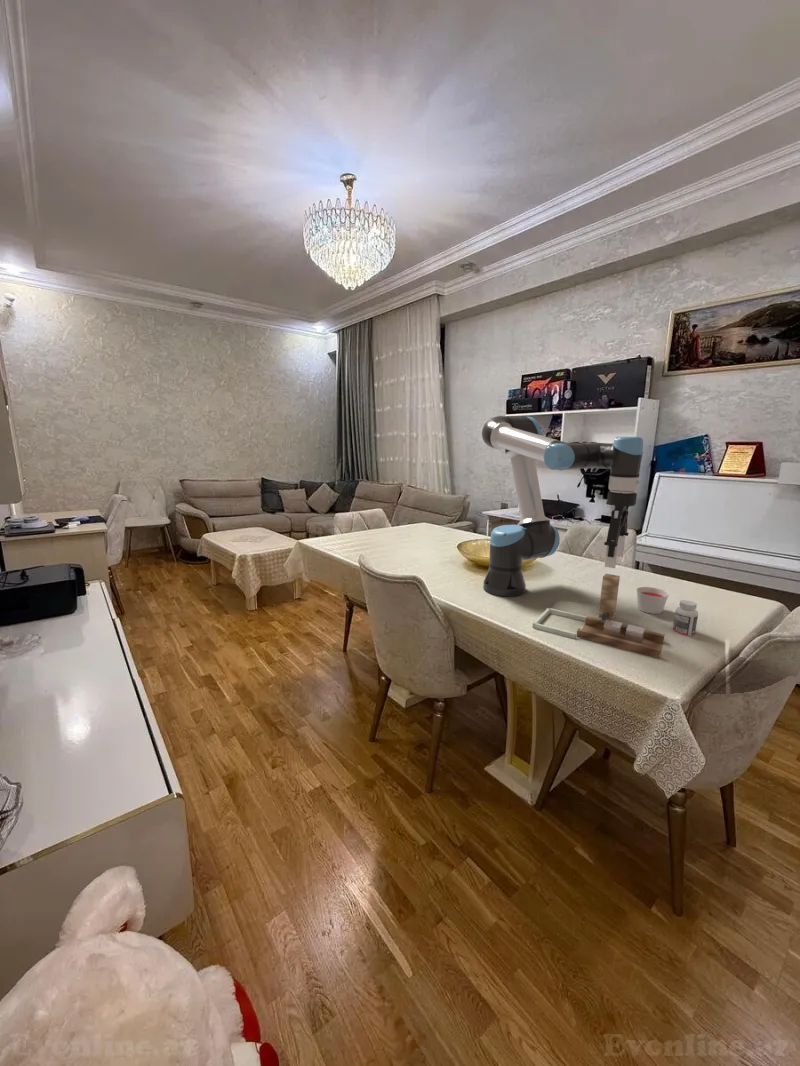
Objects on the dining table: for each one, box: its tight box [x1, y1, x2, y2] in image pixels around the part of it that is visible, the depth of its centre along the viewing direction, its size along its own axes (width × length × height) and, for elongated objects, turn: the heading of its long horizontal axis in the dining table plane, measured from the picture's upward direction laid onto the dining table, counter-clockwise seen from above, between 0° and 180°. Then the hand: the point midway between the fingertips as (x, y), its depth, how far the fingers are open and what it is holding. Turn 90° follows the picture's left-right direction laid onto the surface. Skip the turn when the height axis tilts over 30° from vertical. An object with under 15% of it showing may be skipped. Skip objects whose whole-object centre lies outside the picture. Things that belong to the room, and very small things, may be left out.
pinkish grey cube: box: [625, 624, 646, 644], centre depth 116 cm, size 4×4×4 cm
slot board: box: [576, 616, 665, 659], centre depth 119 cm, size 20×11×3 cm, turn 54°
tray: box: [531, 607, 587, 640], centre depth 128 cm, size 12×14×2 cm
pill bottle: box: [672, 599, 699, 636], centre depth 122 cm, size 5×5×10 cm
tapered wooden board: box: [597, 573, 621, 621], centre depth 132 cm, size 4×7×14 cm, turn 144°
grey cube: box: [603, 619, 624, 638], centre depth 119 cm, size 4×4×4 cm
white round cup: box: [636, 586, 670, 615], centre depth 139 cm, size 9×9×6 cm
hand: (614, 561), depth 129 cm, fingers open, 13 cm apart
